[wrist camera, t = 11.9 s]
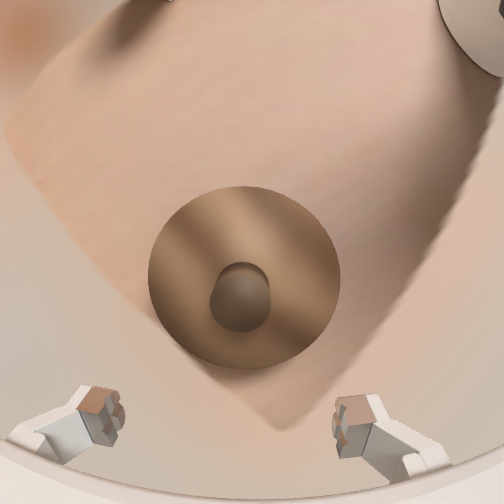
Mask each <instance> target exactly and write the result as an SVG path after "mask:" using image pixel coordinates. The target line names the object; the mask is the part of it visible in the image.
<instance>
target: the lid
mask: <svg viewBox="0 0 504 504" xmlns="http://www.w3.org/2000/svg"><path fill="white" fill-rule="evenodd" d="M148 285H149V292H150V297H151V300H152V304H153V307H154V309H155V311H156V314H157V316H158V318H159V320H160V321H161V323H162V325H163V326H164V328H165V329H166V330H167V331H168V333H169V334H170V335H171V336H172V337H173V338H174V339H175V340H176V341H177V342H178V343H179V344H180V345H181V346H182V347H183V348H185V349H186V350H187V351H189V352H190V353H192V354H194V355H195V356H197V357H199V358H201V359H203V360H205V361H207V362H210V363H213V364H216V365H219V366H223V367H228V368H236V369H256V368H264V367H268V366H272V365H276V364H279V363H281V362H284V361H286V360H288V359H290V358H292V357H294V356H296V355H298V354H299V353H301V352H302V351H303V350H305V349H306V348H307V347H309V346H310V345H311V344H312V343H313V342H314V341H315V340H316V339H317V338H318V337H319V336H320V334H321V333H322V332H323V331H324V329H325V328H326V326H327V325H328V323H329V321H330V319H331V317H332V315H333V313H334V310H335V307H336V304H337V301H338V296H339V291H340V268H339V262H338V258H337V254H336V251H335V248H334V246H333V243H332V241H331V239H330V237H329V236H328V234H327V232H326V230H325V229H324V228H323V226H322V225H321V224H320V222H319V221H318V220H317V219H316V218H315V217H314V216H313V215H312V214H311V213H310V212H309V211H308V210H307V209H305V208H304V207H303V206H301V205H300V204H299V203H297V202H296V201H294V200H292V199H290V198H288V197H286V196H285V195H282V194H280V193H277V192H274V191H272V190H267V189H263V188H258V187H247V186H241V187H229V188H223V189H218V190H215V191H212V192H209V193H206V194H203V195H201V196H199V197H197V198H195V199H193V200H192V201H190V202H189V203H187V204H186V205H184V206H183V207H182V208H180V209H179V210H178V211H177V212H176V213H175V214H174V215H173V216H172V217H171V218H170V219H169V221H168V222H167V223H166V224H165V225H164V227H163V229H162V230H161V232H160V233H159V235H158V237H157V239H156V241H155V244H154V246H153V249H152V253H151V256H150V260H149V268H148Z"/></svg>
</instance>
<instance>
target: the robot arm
mask: <svg viewBox="0 0 504 504" xmlns="http://www.w3.org/2000/svg"><path fill="white" fill-rule="evenodd" d="M438 1H439V6H440V10H441V14H442V16H443V19H444V21H445V23H446V25H447V27H448V29H449V31H450V32H451V34H452V36H453V37H454V39H455V40H456V41H457V43H458V44H459V45H460V47H461V48H462V49H463V50H464V51H465V53H466V54H467V55H468V56H469V57H470V58H471V59H472V60H473V61H474V62H475V63H476V64H478V65H479V66H480V67H481V68H483V69H484V70H485V71H487V72H489V73H490V74H492V75H495V76H498V77H503V78H504V0H438ZM119 400H120V396H119V393H118V392H117V391H116V390H112V389H107V388H102V387H97V386H91V385H87V384H83V385H81V386H80V388H79V389H78V390H77V391H76V393H75V394H74V395H73V396H72V398H71V399H70V400H69V402H68V403H67V404H66V406H65V407H64V406H61V407H58V408H56V409H54V410H51V411H49V412H46V413H44V414H42V415H40V416H37V417H35V418H32V419H30V420H27V421H25V422H22V423H20V424H18V426H16V428H15V429H14V430H13V431H12V433H11V434H10V435H9V436H8V437H7V439H6V440H4V439H2V438H0V504H504V444H503V445H501V446H499V447H497V448H494V449H492V450H490V451H488V452H486V453H483V454H481V455H479V456H476V457H474V458H472V459H469V460H467V461H464V462H462V463H459V464H456V465H454V466H453V465H452V463H451V462H450V460H449V458H448V456H447V454H446V453H445V451H444V449H443V448H442V446H441V444H439V443H437V442H435V441H433V440H431V439H429V438H427V437H425V436H424V435H422V434H420V433H418V432H416V431H414V430H412V429H411V428H409V427H407V426H405V425H403V424H402V423H400V422H398V421H396V420H391V419H390V417H389V415H388V413H387V411H386V409H385V407H384V405H383V403H382V401H381V399H380V397H379V395H378V394H377V393H370V394H364V395H357V396H348V397H338V398H337V400H336V403H335V407H336V412H335V413H334V414H333V420H332V429H333V435H334V438H336V439H337V444H336V447H337V451H338V455H339V459H341V458H350V457H358V456H362V458H363V459H365V460H366V461H367V462H368V463H369V464H370V465H371V466H373V467H374V468H375V469H376V470H377V471H378V472H380V473H381V474H382V475H383V476H385V477H386V478H387V479H388V480H389V481H390V483H389V485H385V486H381V487H376V488H372V489H366V490H360V491H355V492H349V493H342V494H334V495H326V496H318V497H306V498H293V499H226V498H212V497H200V496H191V495H183V494H176V493H169V492H163V491H157V490H152V489H146V488H141V487H137V486H132V485H128V484H123V483H119V482H115V481H111V480H108V479H104V478H100V477H97V476H94V475H90V474H87V473H84V472H80V471H78V470H75V469H72V468H69V467H66V466H63V465H64V464H66V463H67V462H68V461H70V460H72V459H73V458H75V457H76V456H77V455H79V454H80V453H82V452H83V451H85V450H86V449H88V448H89V447H91V446H92V445H93V443H95V444H99V445H103V446H108V447H113V445H114V443H115V441H116V439H117V437H118V435H117V431H118V430H120V429H122V427H123V425H124V421H125V411H124V408H123V406H122V405H121V404H120V403H119Z"/></svg>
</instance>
